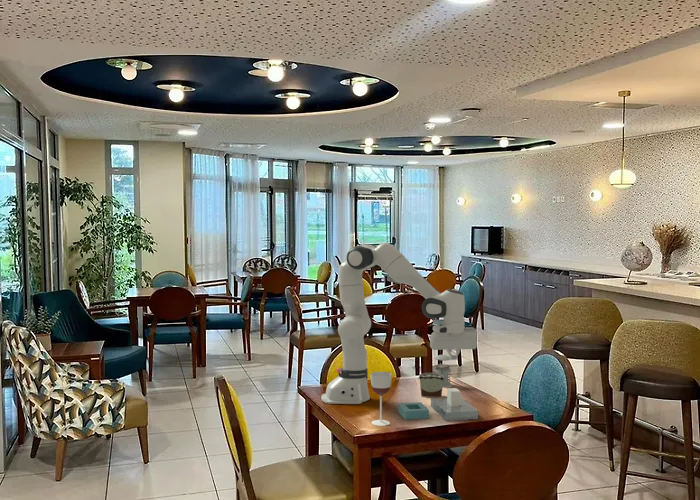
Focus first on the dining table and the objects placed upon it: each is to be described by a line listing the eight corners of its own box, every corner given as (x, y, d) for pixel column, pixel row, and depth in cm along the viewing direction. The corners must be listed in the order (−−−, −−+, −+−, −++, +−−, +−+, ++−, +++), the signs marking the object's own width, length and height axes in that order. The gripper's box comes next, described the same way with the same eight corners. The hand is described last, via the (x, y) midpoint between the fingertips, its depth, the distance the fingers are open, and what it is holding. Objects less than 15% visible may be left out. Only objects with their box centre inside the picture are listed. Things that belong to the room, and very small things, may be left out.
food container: (443, 393, 296) (444, 373, 296) (444, 397, 290) (444, 376, 290) (418, 392, 297) (418, 372, 297) (418, 396, 291) (418, 375, 291)
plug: (450, 414, 264) (451, 391, 263) (447, 411, 268) (447, 388, 268) (459, 414, 264) (460, 391, 264) (455, 410, 269) (456, 388, 269)
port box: (445, 420, 255) (445, 411, 255) (430, 406, 275) (430, 398, 275) (477, 419, 258) (478, 409, 258) (460, 405, 278) (460, 396, 277)
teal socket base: (404, 419, 257) (405, 411, 256) (397, 411, 268) (397, 403, 268) (429, 418, 259) (429, 410, 258) (421, 410, 270) (421, 402, 270)
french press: (452, 383, 316) (453, 334, 315) (451, 389, 305) (452, 338, 304) (433, 382, 318) (433, 333, 317) (431, 387, 307) (432, 337, 306)
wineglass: (367, 420, 255) (368, 372, 254) (388, 419, 257) (388, 371, 256) (373, 426, 248) (373, 377, 247) (393, 425, 250) (394, 375, 249)
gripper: (474, 325, 270) (473, 357, 271) (429, 326, 267) (428, 358, 267) (479, 328, 264) (479, 360, 265) (433, 329, 260) (433, 361, 261)
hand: (453, 359), depth 266 cm, fingers closed
